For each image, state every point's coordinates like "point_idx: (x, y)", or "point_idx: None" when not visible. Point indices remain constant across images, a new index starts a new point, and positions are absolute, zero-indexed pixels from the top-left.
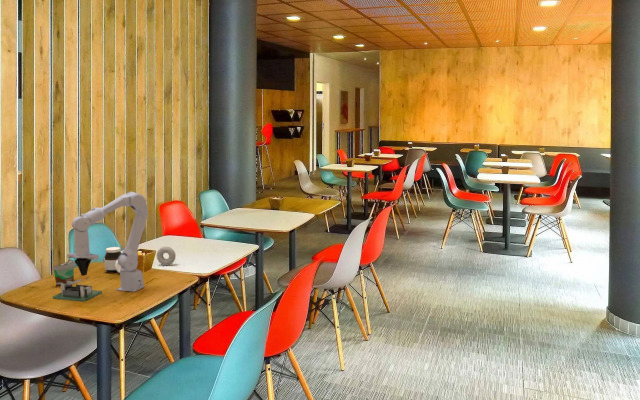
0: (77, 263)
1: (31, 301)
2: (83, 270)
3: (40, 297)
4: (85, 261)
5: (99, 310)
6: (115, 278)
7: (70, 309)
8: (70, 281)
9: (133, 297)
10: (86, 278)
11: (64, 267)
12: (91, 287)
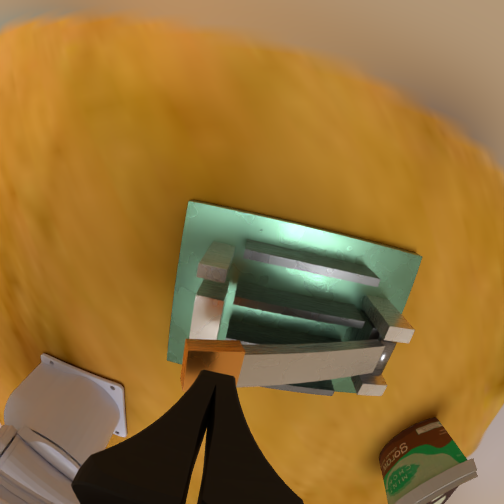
0: (247, 482)
1: (490, 202)
2: (180, 401)
3: (473, 268)
4: (77, 477)
5: (58, 74)
6: None
7: (211, 51)
8: (365, 390)
9: (10, 278)
10: (185, 353)
11: (428, 489)
12: None
